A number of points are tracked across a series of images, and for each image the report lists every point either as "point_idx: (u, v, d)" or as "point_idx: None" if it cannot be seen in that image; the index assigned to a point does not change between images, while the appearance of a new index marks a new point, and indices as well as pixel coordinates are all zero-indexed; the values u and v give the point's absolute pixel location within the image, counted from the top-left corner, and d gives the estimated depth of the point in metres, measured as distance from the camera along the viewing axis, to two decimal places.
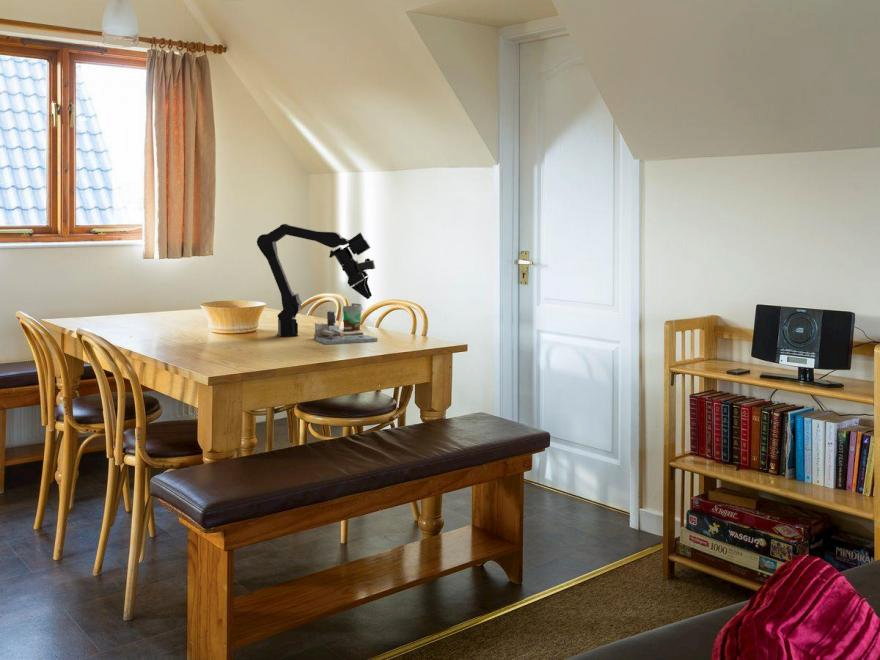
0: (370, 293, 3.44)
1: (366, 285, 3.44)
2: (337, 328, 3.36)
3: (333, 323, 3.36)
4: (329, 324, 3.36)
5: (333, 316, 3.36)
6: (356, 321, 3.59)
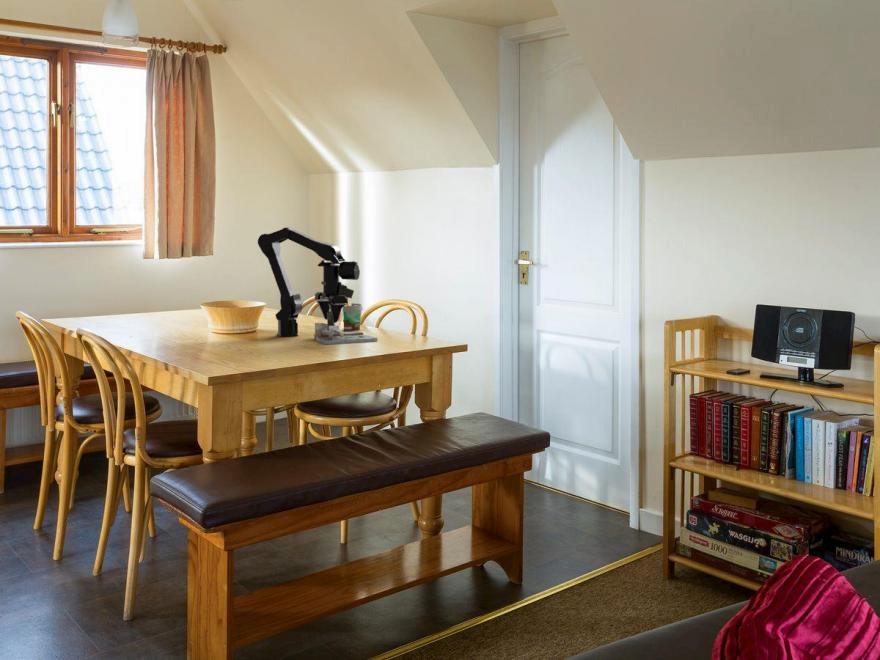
0: None
1: (328, 307, 3.41)
2: (337, 328, 3.36)
3: (333, 323, 3.36)
4: (329, 324, 3.36)
5: None
6: (356, 321, 3.59)
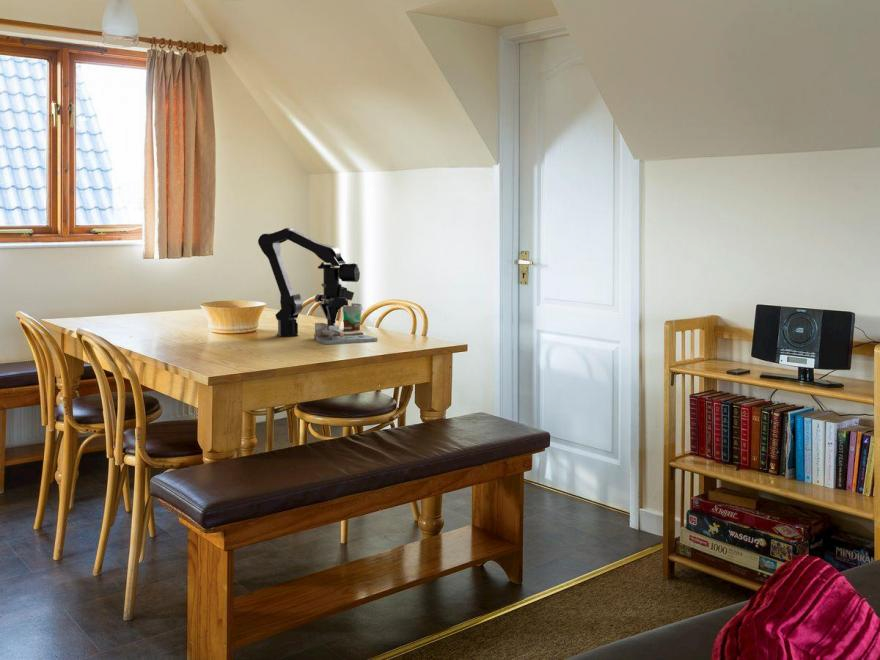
0: None
1: None
2: (337, 328, 3.36)
3: None
4: (329, 324, 3.36)
5: None
6: (356, 321, 3.59)
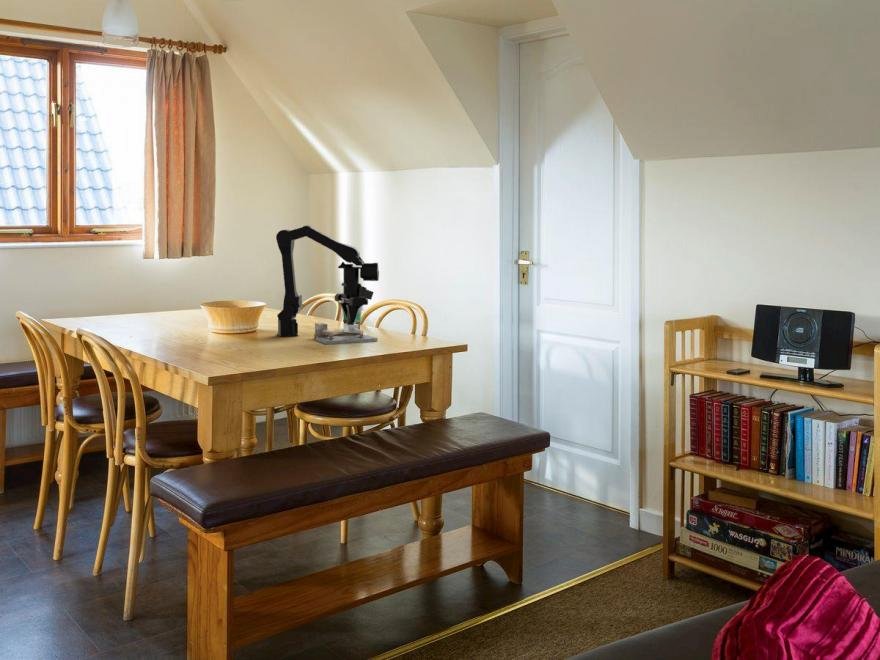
0: None
1: None
2: (357, 327, 3.40)
3: None
4: (349, 323, 3.40)
5: None
6: (356, 321, 3.59)
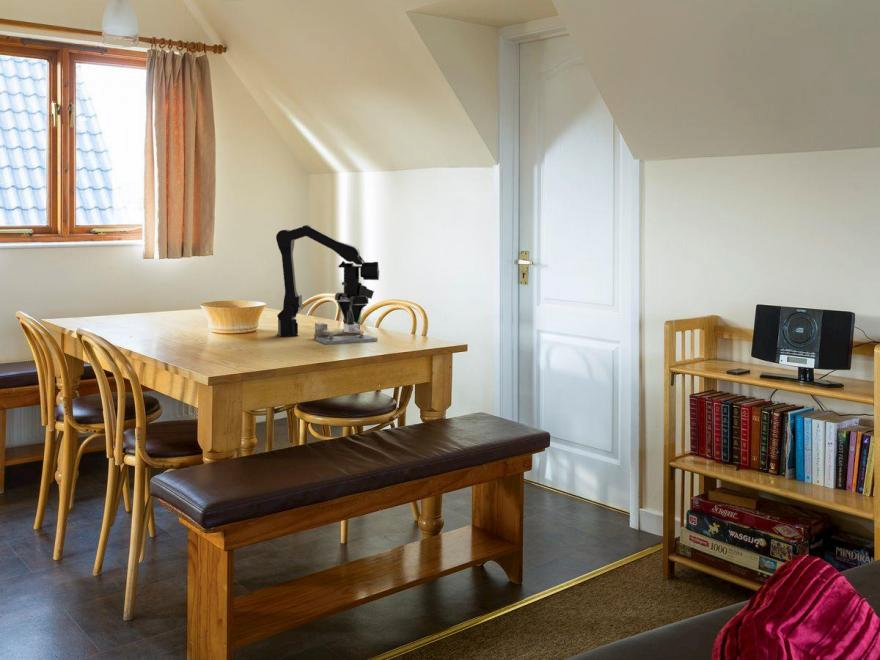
0: None
1: (348, 308, 3.45)
2: (357, 327, 3.40)
3: (353, 322, 3.40)
4: (349, 323, 3.40)
5: None
6: None
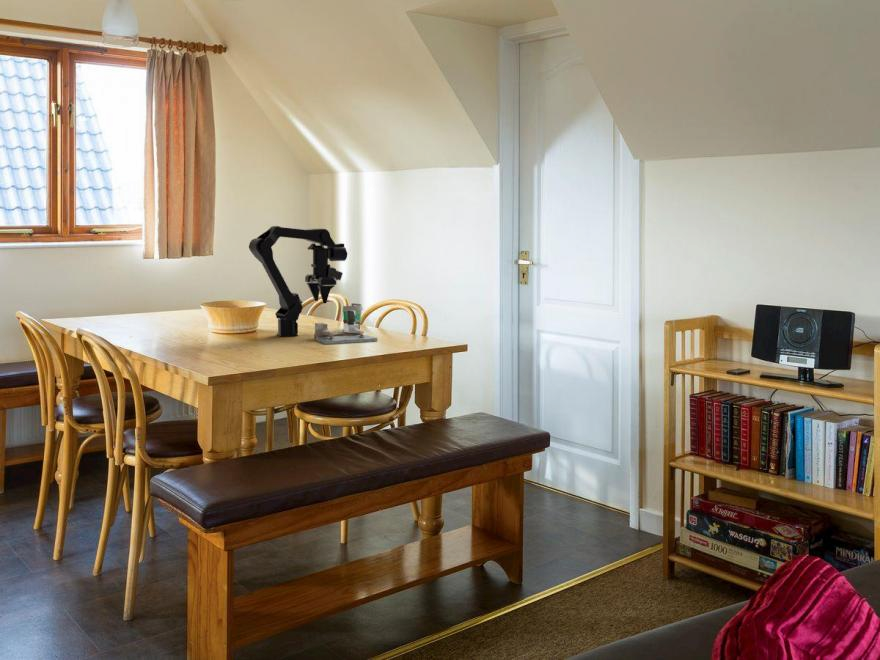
0: None
1: (318, 289, 3.53)
2: (357, 327, 3.40)
3: (353, 322, 3.40)
4: (349, 323, 3.40)
5: (353, 315, 3.40)
6: (356, 321, 3.59)
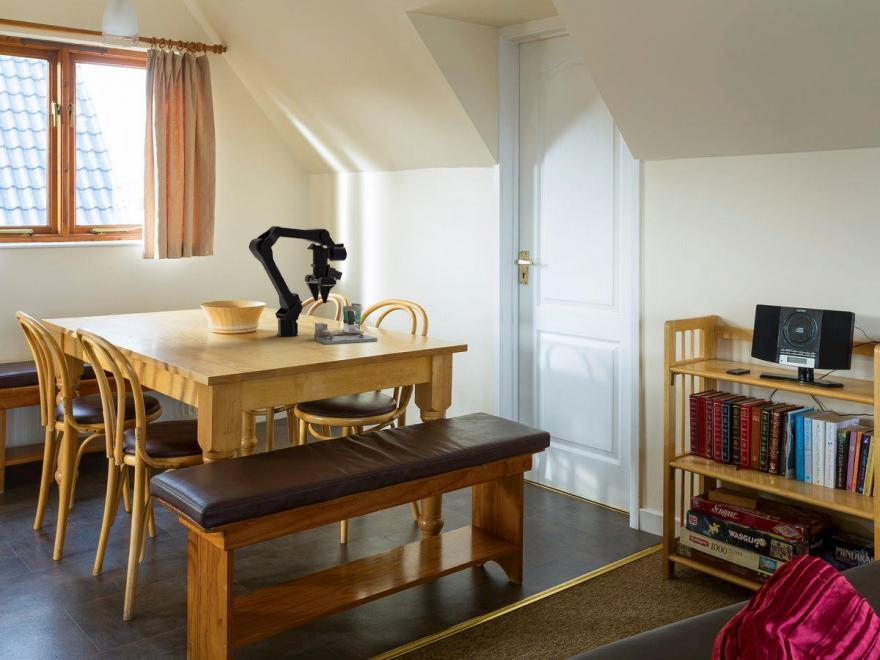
0: (317, 298, 3.53)
1: (318, 289, 3.53)
2: (357, 327, 3.40)
3: (353, 322, 3.40)
4: (349, 323, 3.40)
5: (353, 315, 3.40)
6: (356, 321, 3.59)
